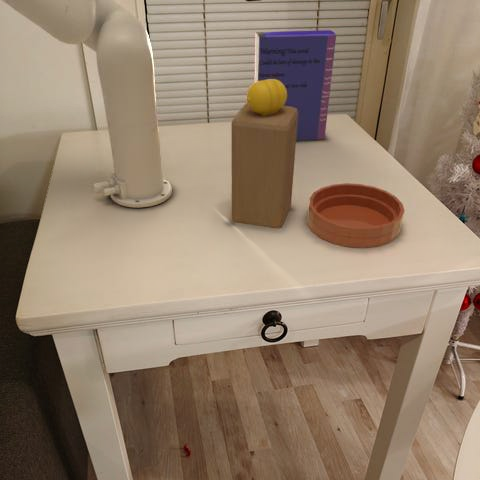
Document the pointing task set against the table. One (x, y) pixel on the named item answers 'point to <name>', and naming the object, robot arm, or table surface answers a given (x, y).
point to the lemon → (266, 96)
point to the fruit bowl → (355, 215)
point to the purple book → (299, 73)
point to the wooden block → (263, 165)
